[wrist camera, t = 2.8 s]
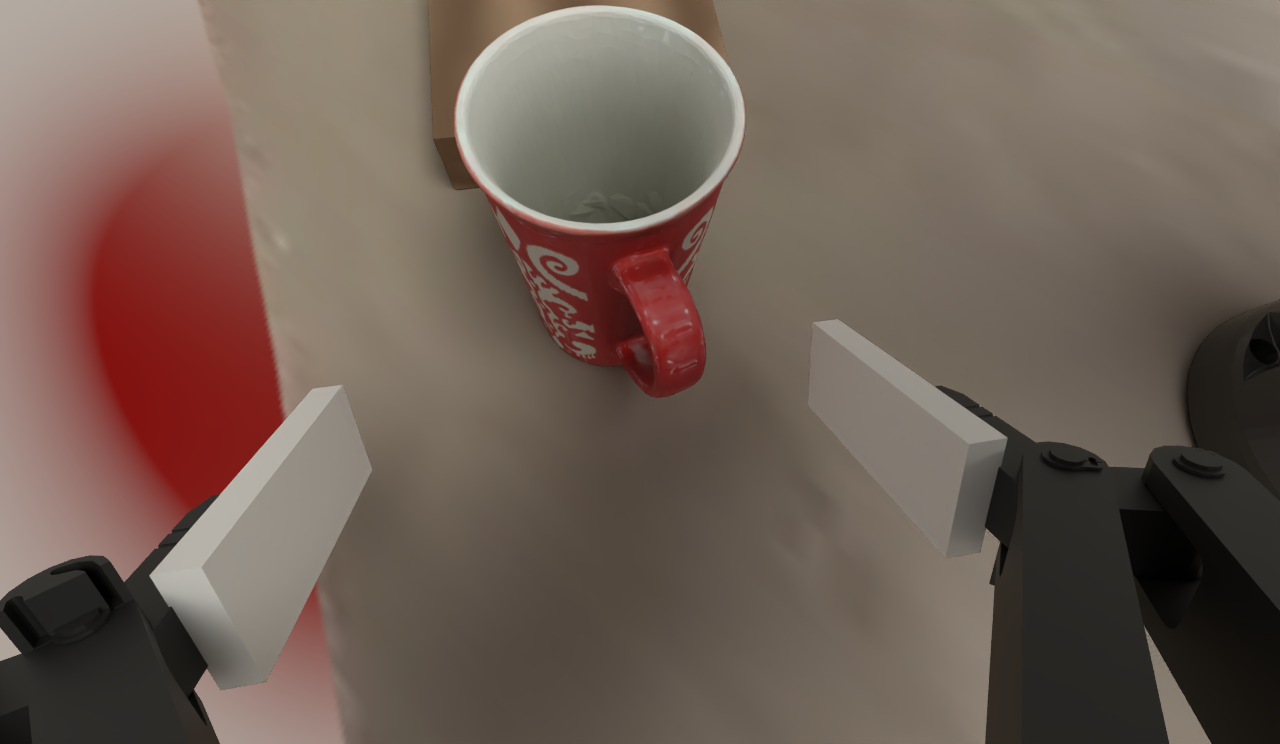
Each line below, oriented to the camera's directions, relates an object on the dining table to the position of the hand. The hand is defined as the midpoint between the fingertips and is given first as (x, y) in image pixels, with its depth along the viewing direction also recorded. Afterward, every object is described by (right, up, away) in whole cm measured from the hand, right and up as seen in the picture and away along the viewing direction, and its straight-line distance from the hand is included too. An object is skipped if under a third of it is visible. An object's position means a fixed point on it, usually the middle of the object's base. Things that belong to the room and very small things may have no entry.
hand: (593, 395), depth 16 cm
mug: (0, +3, +14) cm, 14 cm away
